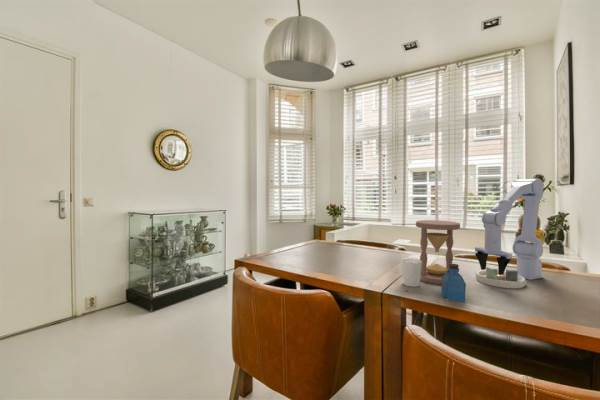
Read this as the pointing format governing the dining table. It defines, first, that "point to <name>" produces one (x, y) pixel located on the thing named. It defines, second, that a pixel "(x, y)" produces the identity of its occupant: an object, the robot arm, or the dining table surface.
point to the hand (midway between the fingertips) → (492, 271)
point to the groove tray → (500, 280)
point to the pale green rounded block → (491, 273)
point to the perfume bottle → (453, 284)
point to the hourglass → (437, 240)
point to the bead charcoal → (511, 275)
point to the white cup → (411, 271)
